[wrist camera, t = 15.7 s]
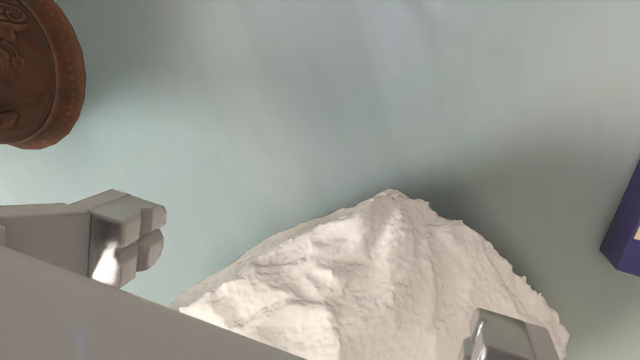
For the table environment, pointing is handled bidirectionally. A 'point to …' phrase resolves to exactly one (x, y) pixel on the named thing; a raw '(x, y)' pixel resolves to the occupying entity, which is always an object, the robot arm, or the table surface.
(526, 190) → the table surface
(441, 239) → the rock
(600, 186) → the table surface
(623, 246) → the purple box
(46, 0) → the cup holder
